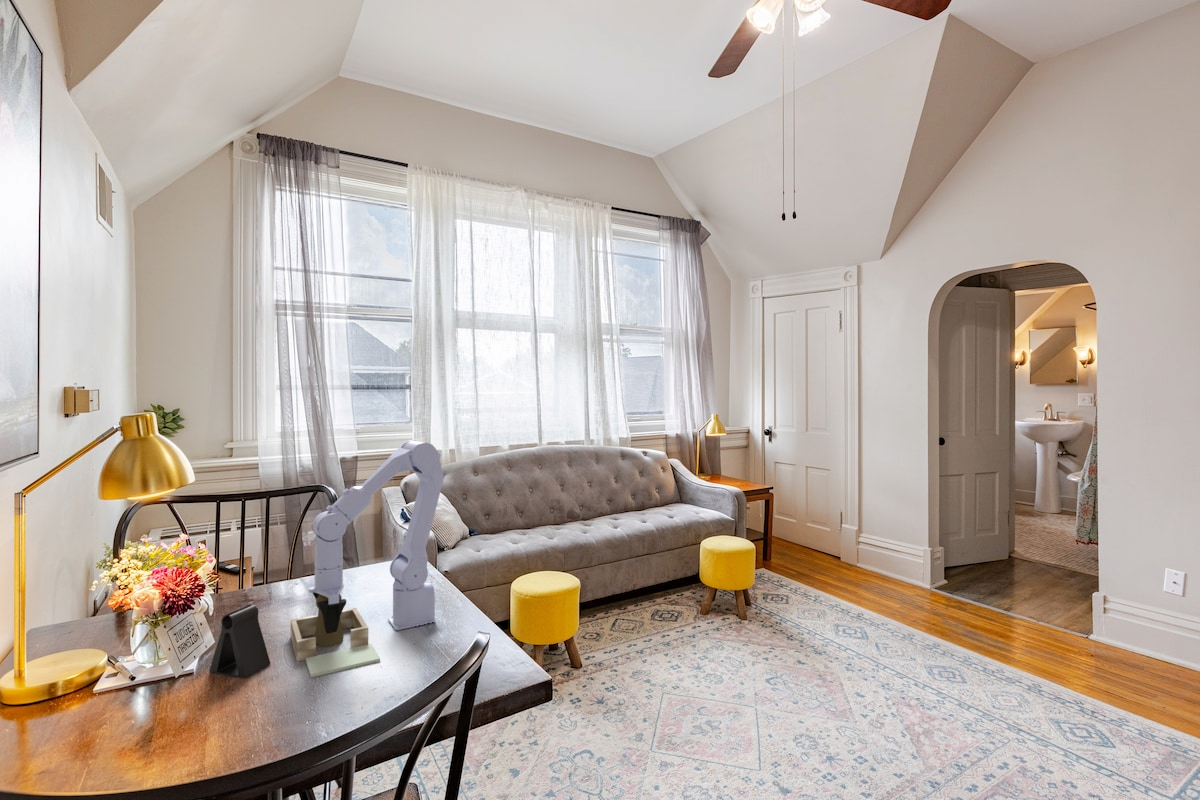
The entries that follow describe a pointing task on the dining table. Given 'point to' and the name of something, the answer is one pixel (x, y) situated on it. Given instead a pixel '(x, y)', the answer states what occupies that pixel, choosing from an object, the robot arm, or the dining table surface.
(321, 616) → the olive game pawn
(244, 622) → the black triangular stand
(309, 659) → the sage mat
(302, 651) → the access bay
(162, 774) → the dining table surface
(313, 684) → the dining table surface
